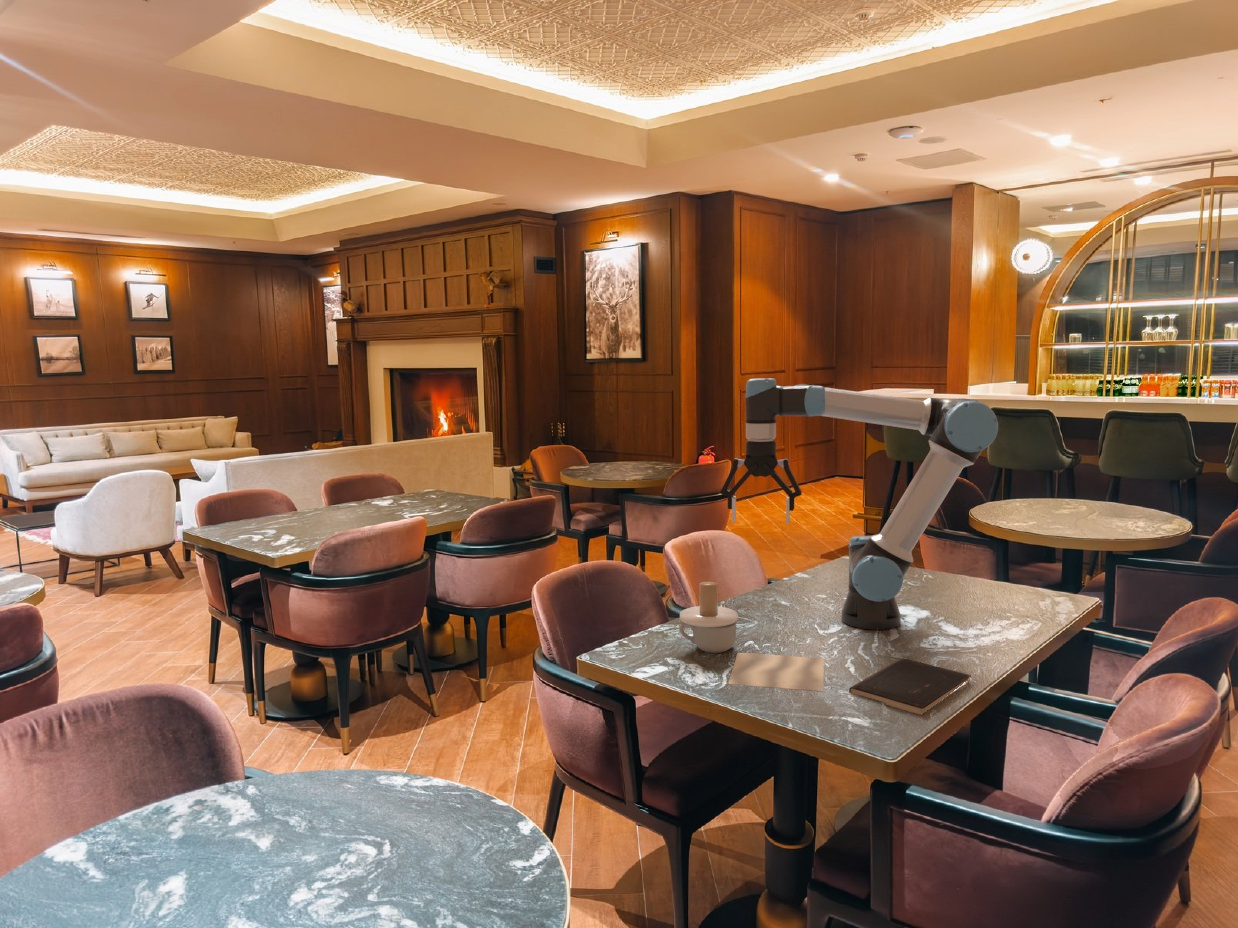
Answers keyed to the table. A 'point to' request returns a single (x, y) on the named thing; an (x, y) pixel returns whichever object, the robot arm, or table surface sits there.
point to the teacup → (712, 637)
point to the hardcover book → (910, 685)
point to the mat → (778, 671)
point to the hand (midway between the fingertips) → (760, 522)
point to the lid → (708, 609)
